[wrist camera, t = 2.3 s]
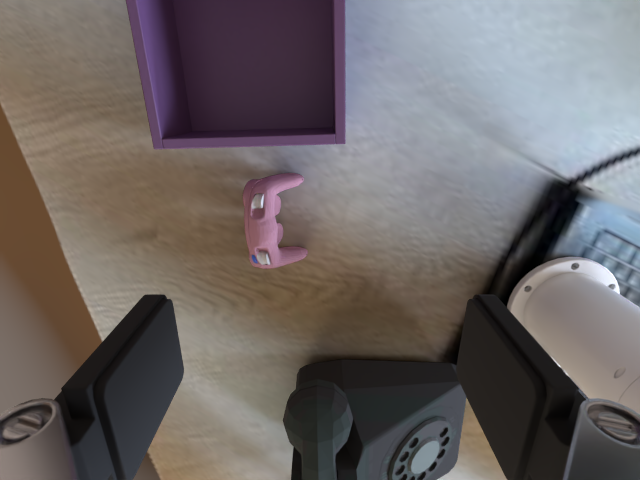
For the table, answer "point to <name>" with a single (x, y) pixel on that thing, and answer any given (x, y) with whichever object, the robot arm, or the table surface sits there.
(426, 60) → the table surface
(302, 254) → the video game controller
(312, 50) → the box
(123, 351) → the robot arm
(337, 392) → the rotary telephone
